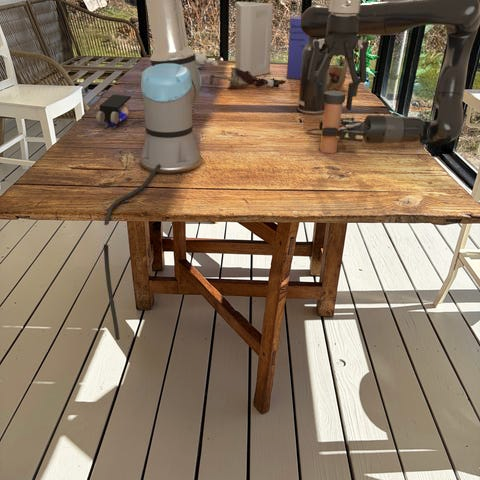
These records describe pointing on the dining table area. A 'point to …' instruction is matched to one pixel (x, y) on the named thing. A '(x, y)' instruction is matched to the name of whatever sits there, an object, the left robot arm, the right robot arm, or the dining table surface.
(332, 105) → the wooden cylinder
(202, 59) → the toy
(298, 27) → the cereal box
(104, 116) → the figurine character
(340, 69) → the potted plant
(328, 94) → the lid
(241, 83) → the figurine
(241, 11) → the tall white carton
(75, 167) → the dining table surface
